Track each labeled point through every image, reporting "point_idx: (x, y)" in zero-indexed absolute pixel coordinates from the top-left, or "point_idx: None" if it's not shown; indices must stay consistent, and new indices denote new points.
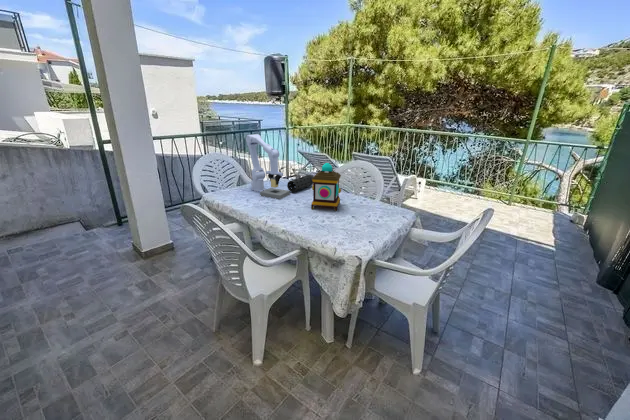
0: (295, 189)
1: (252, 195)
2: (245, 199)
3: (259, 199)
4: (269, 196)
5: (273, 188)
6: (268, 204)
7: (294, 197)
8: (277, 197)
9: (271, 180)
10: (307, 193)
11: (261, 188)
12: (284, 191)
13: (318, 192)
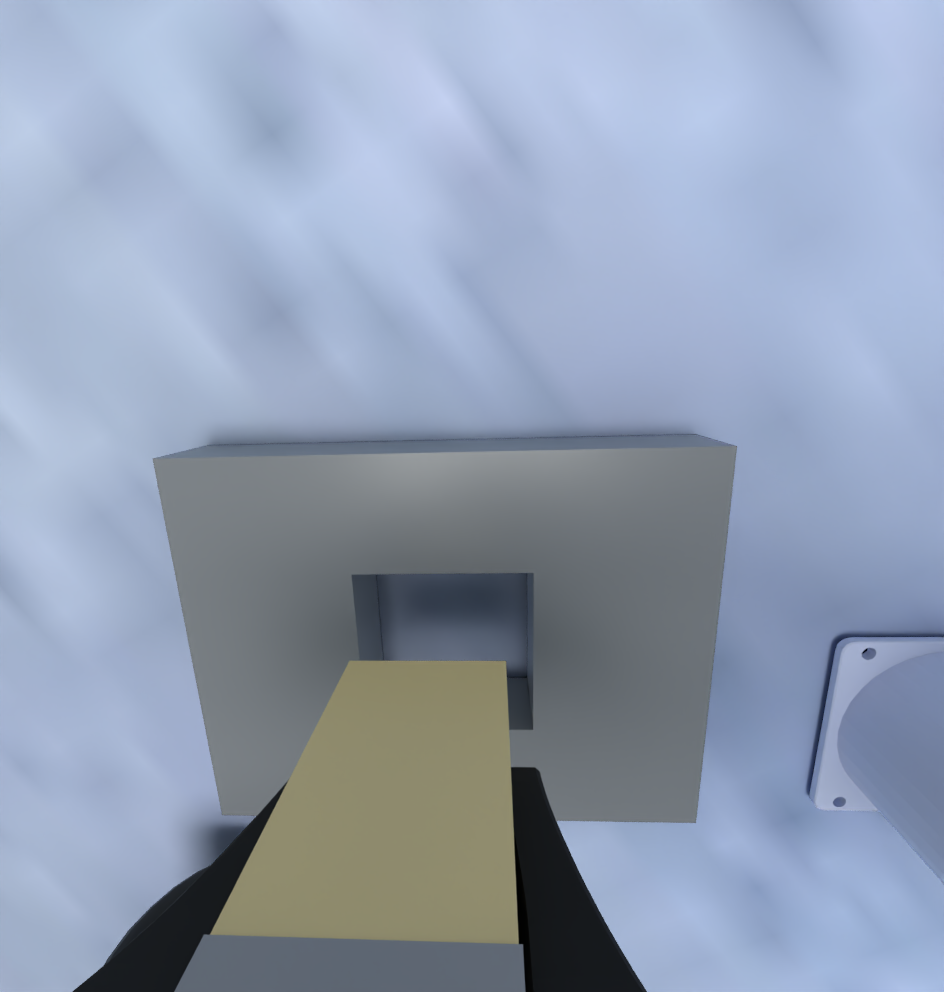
0: (162, 901)
1: (873, 372)
2: (868, 11)
3: (559, 215)
4: (453, 443)
5: (613, 805)
6: (159, 20)
7: (92, 664)
8: (247, 449)
9: (470, 867)
10: (87, 906)
11: (887, 731)
12: (280, 739)
13: None
